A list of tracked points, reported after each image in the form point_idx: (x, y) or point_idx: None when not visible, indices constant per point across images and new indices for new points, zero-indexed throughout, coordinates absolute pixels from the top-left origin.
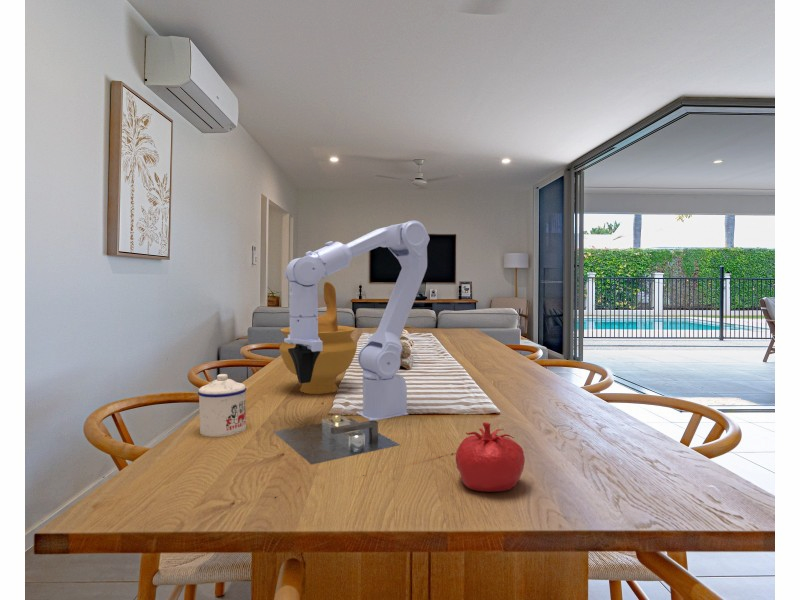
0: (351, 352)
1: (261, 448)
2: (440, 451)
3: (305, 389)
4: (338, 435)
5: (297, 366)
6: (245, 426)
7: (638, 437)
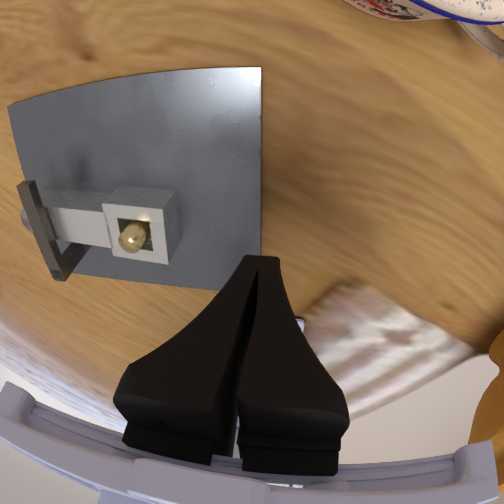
0: None
1: (152, 10)
2: (47, 295)
3: None
4: (81, 200)
5: (230, 312)
6: (358, 7)
7: (75, 403)
